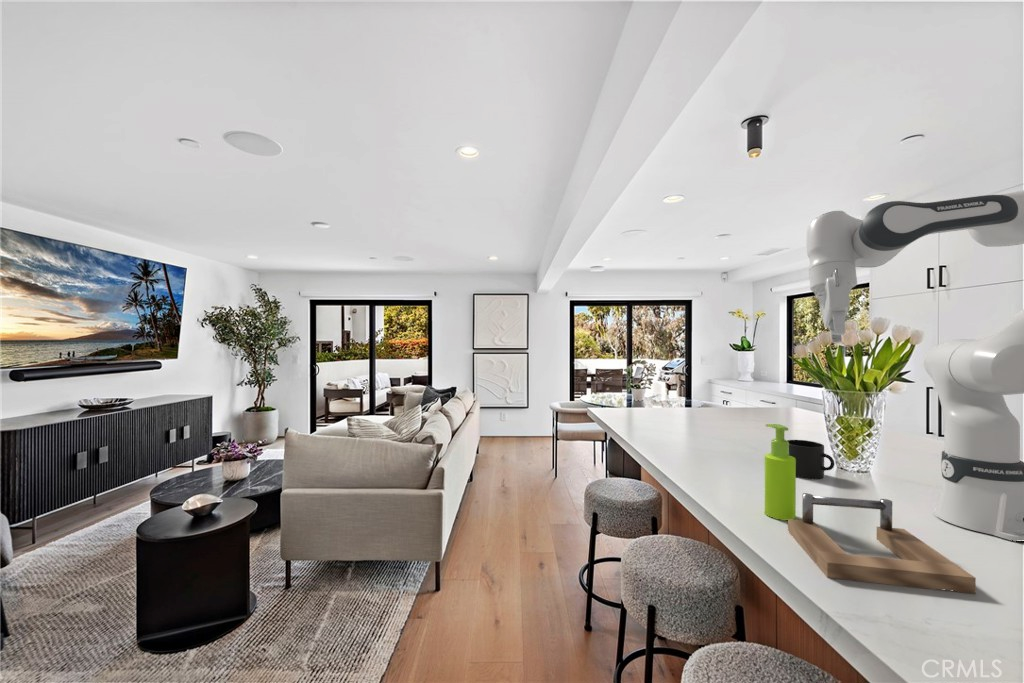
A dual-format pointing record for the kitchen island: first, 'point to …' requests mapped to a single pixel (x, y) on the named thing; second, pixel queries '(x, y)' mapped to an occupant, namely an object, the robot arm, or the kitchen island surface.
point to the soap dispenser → (780, 478)
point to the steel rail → (882, 505)
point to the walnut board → (884, 560)
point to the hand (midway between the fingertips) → (838, 338)
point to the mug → (809, 459)
